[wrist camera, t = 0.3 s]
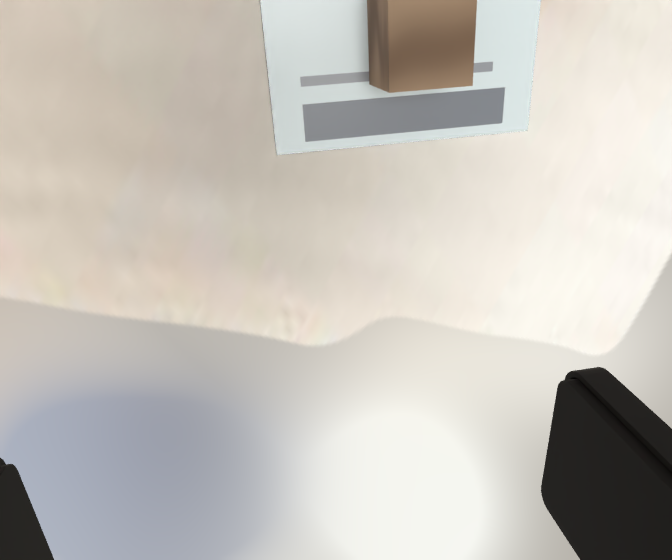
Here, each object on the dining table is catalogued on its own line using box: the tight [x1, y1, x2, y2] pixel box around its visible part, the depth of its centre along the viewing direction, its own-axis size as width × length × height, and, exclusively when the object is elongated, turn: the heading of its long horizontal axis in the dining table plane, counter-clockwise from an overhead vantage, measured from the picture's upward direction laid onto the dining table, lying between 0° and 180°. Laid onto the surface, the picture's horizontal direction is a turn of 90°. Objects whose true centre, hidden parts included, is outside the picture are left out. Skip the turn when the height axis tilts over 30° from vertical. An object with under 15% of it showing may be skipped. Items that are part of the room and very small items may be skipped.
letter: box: [260, 0, 541, 155], centre depth 34 cm, size 13×18×1 cm
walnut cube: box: [367, 0, 477, 93], centre depth 32 cm, size 5×5×5 cm
